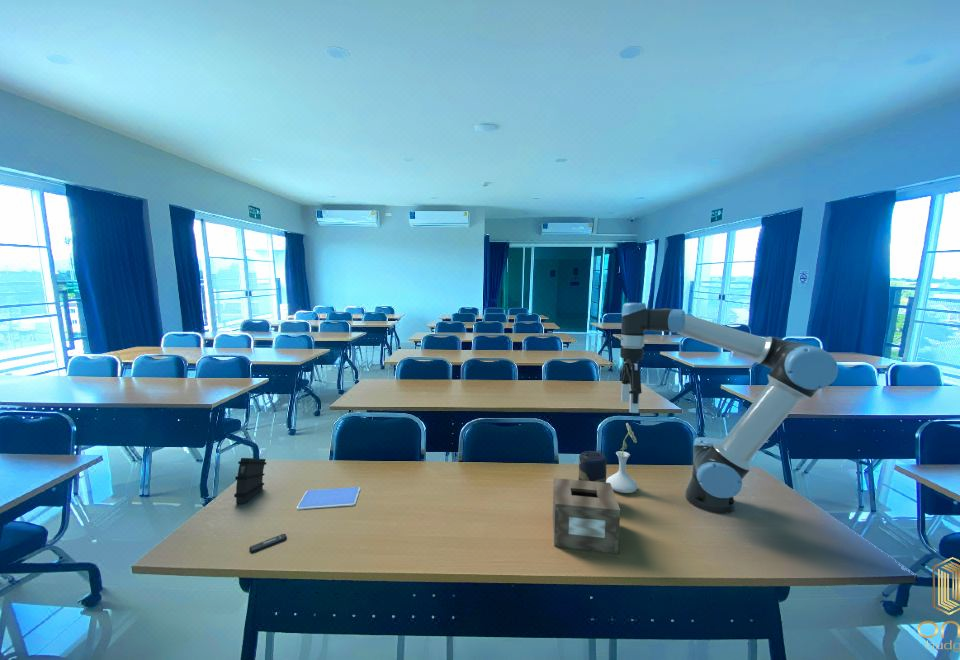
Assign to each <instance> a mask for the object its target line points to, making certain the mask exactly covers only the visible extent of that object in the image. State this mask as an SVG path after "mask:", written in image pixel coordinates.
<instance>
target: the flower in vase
mask: <svg viewBox="0 0 960 660" xmlns="http://www.w3.org/2000/svg"><path fill="white" fill-rule="evenodd" d="M625 425H626V429H627V431H628V432H627V434H626V435H625V437H624V439H623V442H622V448H620V451H616V452H615V454H616V455H617V458H618V463H619V464H618V466H619V467H618V471H616V473H614V474H612V475H610V476H609V477H606V483H610V484H611V486H612V489H613V491H615V492H617V493H621V494H622V493H623V494H630V493H634V492H636V491H637V490H638V484H637V482H636V481H635V480H634V479H633V478H632V477H631V476H629V474H628V473H627V471H626V465H627V461H628V459H629V457H630V456H631V454H630V452H627V451H624V450H627V449H628V448H627V447H628V444H627V443H626V439H627V437H629V436H630V438H631V440H632V441H633V443H635V444H636V443H637V442H638V441H637V438H636V436H635V435H634V434H635V433H634V431H632V427H631V425H630V424H629V423H628V422H627V423H625ZM621 450H622V451H621Z"/></svg>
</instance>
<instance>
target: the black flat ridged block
mask: <svg viewBox="0 0 960 660" xmlns="http://www.w3.org/2000/svg"><path fill="white" fill-rule="evenodd" d="M237 464H238V465H239V466H238V469H237V470H238V471H237V476H235V481H236V487H235V489H236V490H235V493H234V494H233V495H234V496H233V497H234V498H236V499H235V503H236V505H245V504H246V503H247V502H249V501H250V500H251V499H253V498H254V497H255V496H256V495H257V494H258V493H260V492H261V491H262V490H263V487H264V485H265V482H264V481H263V477H264V476H265V473H264V469H265V465H267V461H266V458H253V457H241V458H240V461H239V460H238V462H237Z"/></svg>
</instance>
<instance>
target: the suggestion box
mask: <svg viewBox="0 0 960 660" xmlns="http://www.w3.org/2000/svg"><path fill="white" fill-rule="evenodd" d="M552 489H553V497H552V499H553V500H552V528H553V531H552V532H553V546H554V547H558V548H568V549H577V550H585V551H591V550H592V551H594V552H600V551H601V552H602V553H609V552H610V554H616V555H617V554H619V545H620V526H621V523H620V521H621V509H620V506H619V503H618V500H617V498H616V494H615V492H614V490H613V489H612V486H611V484H610V483H605V482H594V481H582V480H579V479H571V478H570V479H568V478H558V477H553V488H552Z"/></svg>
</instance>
